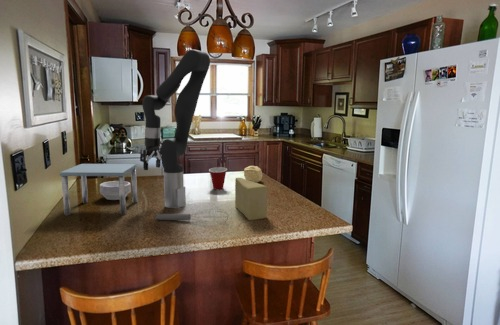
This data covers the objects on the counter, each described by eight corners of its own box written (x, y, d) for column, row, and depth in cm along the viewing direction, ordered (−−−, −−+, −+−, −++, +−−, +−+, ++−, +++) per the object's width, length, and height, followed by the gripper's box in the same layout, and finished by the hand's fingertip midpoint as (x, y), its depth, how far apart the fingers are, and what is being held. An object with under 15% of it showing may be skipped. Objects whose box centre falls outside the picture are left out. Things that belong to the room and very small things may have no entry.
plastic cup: (205, 189, 201) (205, 169, 199) (215, 185, 211) (215, 166, 209) (220, 191, 196) (220, 171, 194) (230, 187, 206) (230, 168, 204)
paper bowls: (135, 194, 188) (135, 180, 186) (123, 202, 173) (122, 187, 171) (109, 193, 189) (108, 179, 188) (94, 201, 174) (93, 186, 173)
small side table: (84, 201, 173) (81, 163, 170) (138, 201, 175) (136, 163, 172) (63, 215, 152) (59, 172, 148) (124, 215, 153) (122, 172, 150)
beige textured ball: (242, 183, 219) (242, 166, 217) (247, 179, 230) (247, 163, 228) (259, 184, 216) (259, 167, 214) (264, 180, 227) (264, 164, 225)
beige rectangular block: (227, 207, 167) (227, 177, 164) (245, 205, 171) (245, 175, 169) (248, 221, 148) (248, 187, 145) (267, 218, 152) (268, 185, 150)
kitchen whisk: (155, 217, 152) (154, 203, 150) (229, 222, 147) (230, 208, 146) (149, 222, 146) (148, 207, 145) (226, 227, 141) (227, 212, 140)
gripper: (148, 138, 160) (147, 172, 163) (168, 136, 173) (167, 167, 176) (136, 136, 164) (136, 169, 167) (157, 134, 176) (156, 165, 179)
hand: (152, 168), depth 171 cm, fingers open, 8 cm apart
